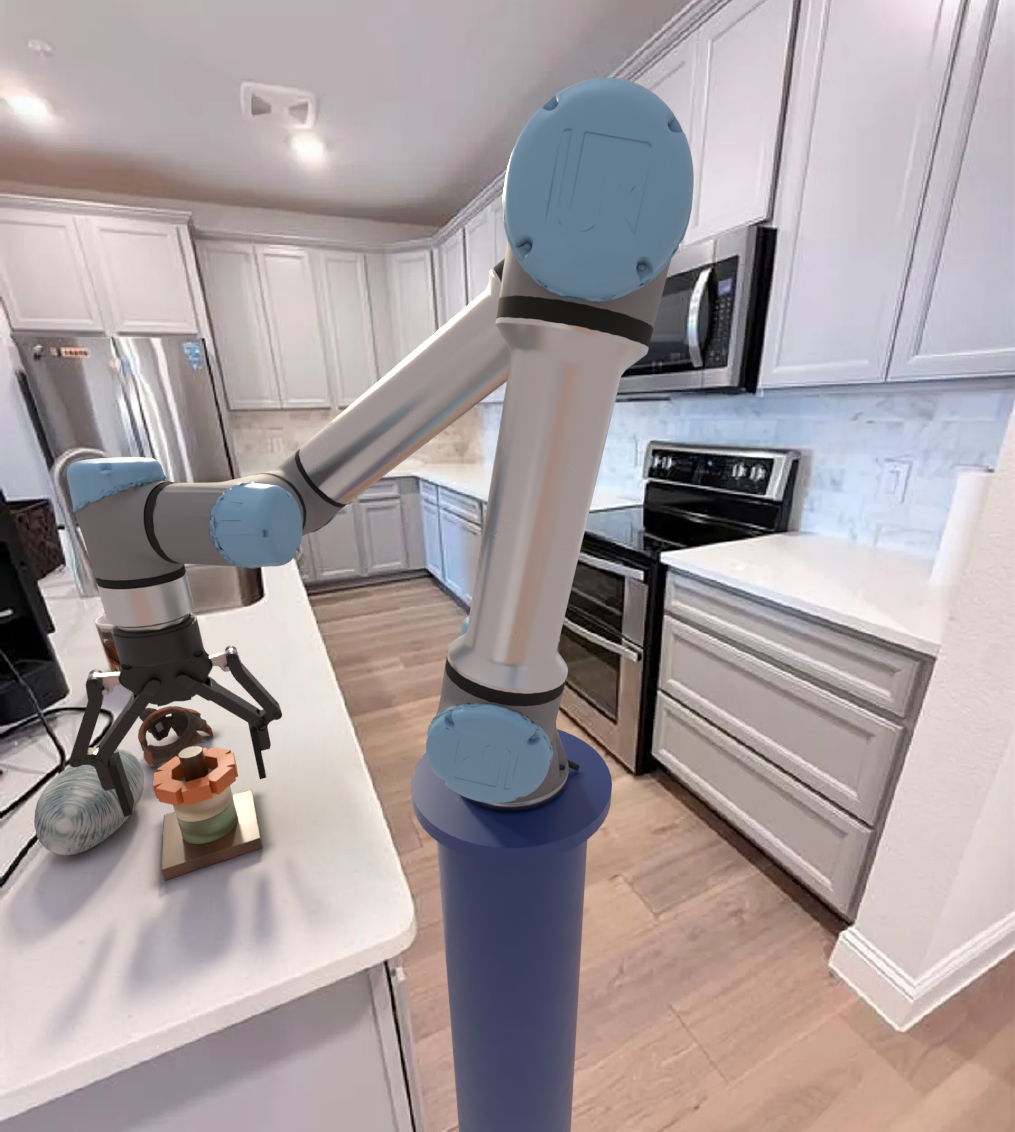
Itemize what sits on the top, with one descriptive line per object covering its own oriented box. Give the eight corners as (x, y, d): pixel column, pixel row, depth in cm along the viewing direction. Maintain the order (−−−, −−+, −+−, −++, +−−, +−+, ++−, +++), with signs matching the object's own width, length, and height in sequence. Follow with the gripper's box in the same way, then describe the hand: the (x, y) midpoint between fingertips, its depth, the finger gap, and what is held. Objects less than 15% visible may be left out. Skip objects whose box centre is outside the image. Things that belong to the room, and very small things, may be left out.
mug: (164, 652, 117) (151, 602, 113) (182, 669, 109) (169, 617, 105) (105, 667, 110) (89, 615, 106) (120, 687, 102) (103, 632, 98)
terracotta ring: (234, 752, 69) (231, 740, 68) (240, 790, 62) (237, 776, 61) (158, 772, 65) (154, 760, 64) (155, 814, 58) (151, 800, 58)
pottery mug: (233, 738, 87) (213, 712, 80) (189, 790, 82) (164, 768, 75) (173, 708, 90) (149, 681, 83) (127, 757, 84) (97, 733, 78)
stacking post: (253, 798, 73) (235, 719, 68) (262, 847, 65) (242, 762, 60) (166, 824, 69) (141, 742, 64) (164, 880, 60) (134, 791, 56)
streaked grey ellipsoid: (79, 767, 74) (84, 719, 69) (156, 787, 77) (166, 742, 72) (8, 862, 63) (7, 814, 58) (100, 881, 66) (108, 836, 61)
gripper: (279, 590, 64) (305, 744, 73) (5, 628, 53) (71, 804, 62) (289, 609, 58) (316, 775, 67) (-18, 657, 47) (59, 848, 56)
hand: (198, 789), depth 64 cm, fingers open, 13 cm apart
